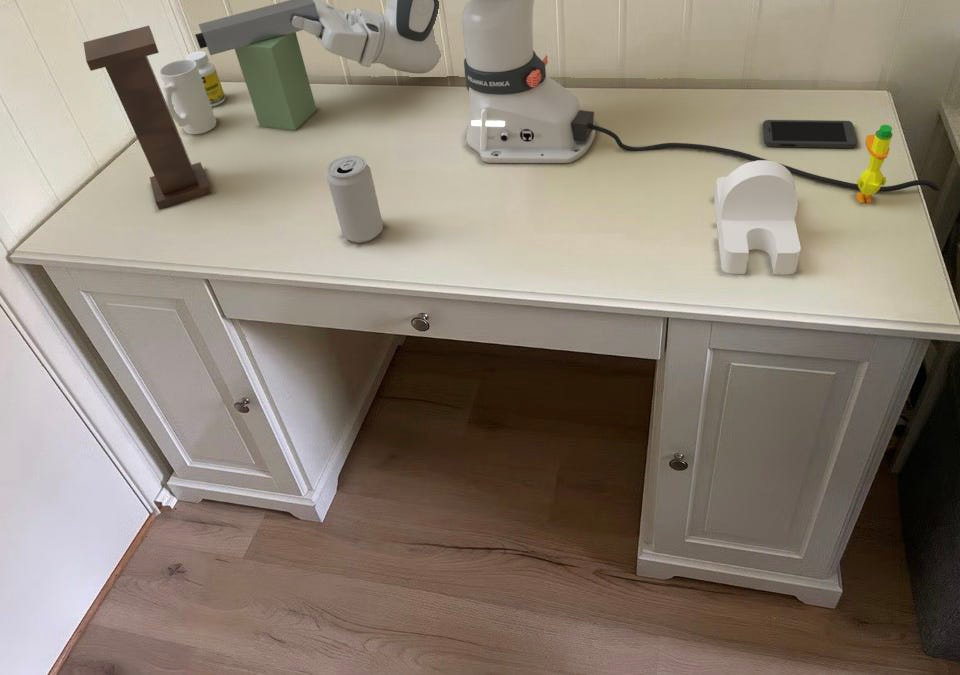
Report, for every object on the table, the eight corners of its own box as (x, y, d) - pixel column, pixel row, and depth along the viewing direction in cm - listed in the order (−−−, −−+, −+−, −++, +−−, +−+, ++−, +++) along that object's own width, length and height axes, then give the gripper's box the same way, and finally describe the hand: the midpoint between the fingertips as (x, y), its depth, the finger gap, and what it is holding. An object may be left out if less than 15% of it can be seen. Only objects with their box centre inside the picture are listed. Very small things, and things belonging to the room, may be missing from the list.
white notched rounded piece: (722, 273, 106) (731, 207, 98) (713, 197, 118) (721, 133, 111) (797, 274, 104) (812, 207, 97) (780, 197, 117) (793, 132, 109)
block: (316, 109, 152) (294, 28, 141) (295, 130, 147) (271, 47, 136) (281, 106, 155) (257, 25, 144) (259, 126, 150) (233, 44, 138)
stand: (206, 168, 140) (148, 24, 122) (214, 192, 134) (155, 44, 116) (149, 185, 138) (83, 41, 120) (155, 210, 132) (86, 62, 114)
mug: (194, 117, 155) (171, 59, 147) (224, 118, 153) (202, 59, 145) (167, 143, 148) (142, 84, 140) (199, 145, 147) (175, 85, 138)
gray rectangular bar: (314, 17, 144) (308, -5, 141) (320, 25, 141) (314, 2, 138) (199, 48, 139) (191, 25, 136) (203, 57, 136) (195, 34, 133)
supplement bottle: (201, 110, 157) (183, 64, 150) (197, 100, 161) (180, 53, 154) (228, 103, 158) (211, 56, 151) (223, 92, 162) (207, 46, 155)
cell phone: (857, 148, 123) (858, 144, 123) (763, 146, 126) (764, 142, 126) (851, 124, 128) (852, 120, 128) (762, 123, 131) (762, 119, 131)
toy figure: (844, 186, 117) (863, 112, 109) (869, 184, 116) (890, 110, 108) (857, 212, 112) (878, 137, 104) (883, 211, 112) (906, 136, 103)
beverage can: (336, 243, 120) (317, 175, 111) (353, 218, 124) (335, 152, 116) (374, 247, 118) (358, 179, 110) (390, 222, 122) (375, 154, 114)
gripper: (349, 0, 152) (279, -21, 145) (382, 37, 138) (307, 15, 131) (340, 32, 155) (271, 13, 148) (371, 71, 141) (297, 52, 134)
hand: (288, 14), depth 139 cm, fingers closed on gray rectangular bar, 4 cm apart
